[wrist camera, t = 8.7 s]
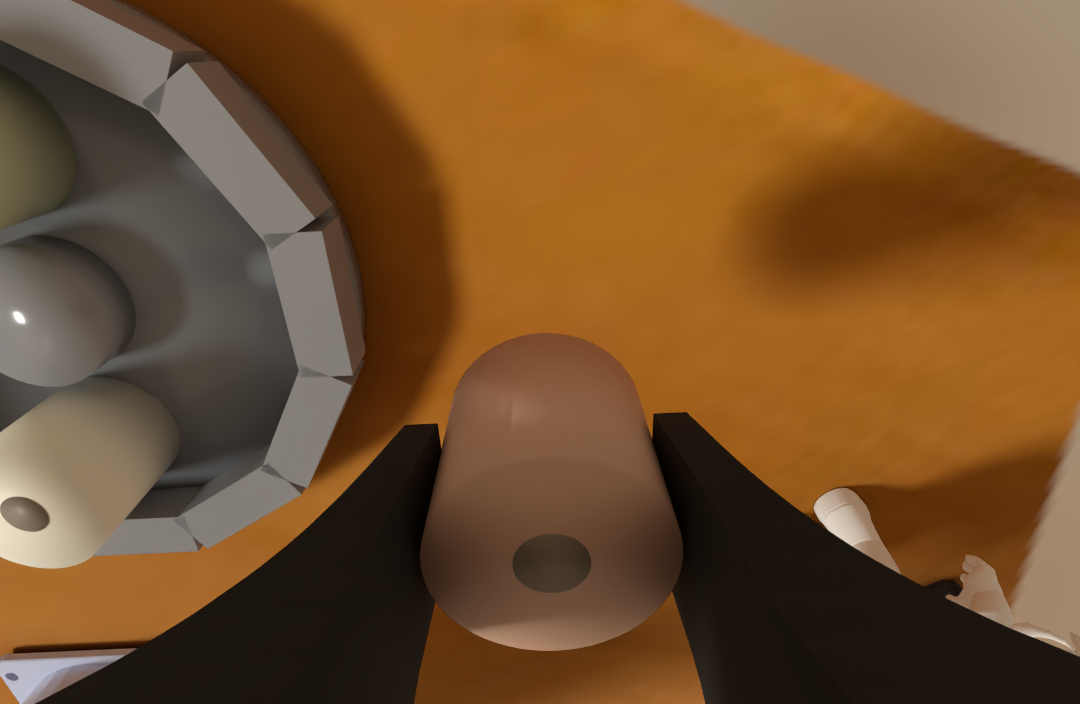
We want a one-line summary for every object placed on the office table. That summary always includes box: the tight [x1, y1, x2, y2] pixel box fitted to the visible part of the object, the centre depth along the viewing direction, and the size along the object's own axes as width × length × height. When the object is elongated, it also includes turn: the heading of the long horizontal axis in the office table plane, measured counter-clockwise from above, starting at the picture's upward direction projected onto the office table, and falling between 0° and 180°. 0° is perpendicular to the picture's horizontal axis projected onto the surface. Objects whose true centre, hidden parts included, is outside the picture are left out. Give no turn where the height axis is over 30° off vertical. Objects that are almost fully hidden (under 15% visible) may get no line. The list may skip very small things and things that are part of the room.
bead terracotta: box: [420, 333, 683, 651], centre depth 11 cm, size 4×4×4 cm
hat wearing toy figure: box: [814, 488, 1080, 657], centre depth 18 cm, size 9×4×12 cm, turn 123°
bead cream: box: [0, 376, 180, 568], centre depth 18 cm, size 4×4×4 cm
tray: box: [0, 0, 366, 556], centre depth 17 cm, size 17×17×2 cm
